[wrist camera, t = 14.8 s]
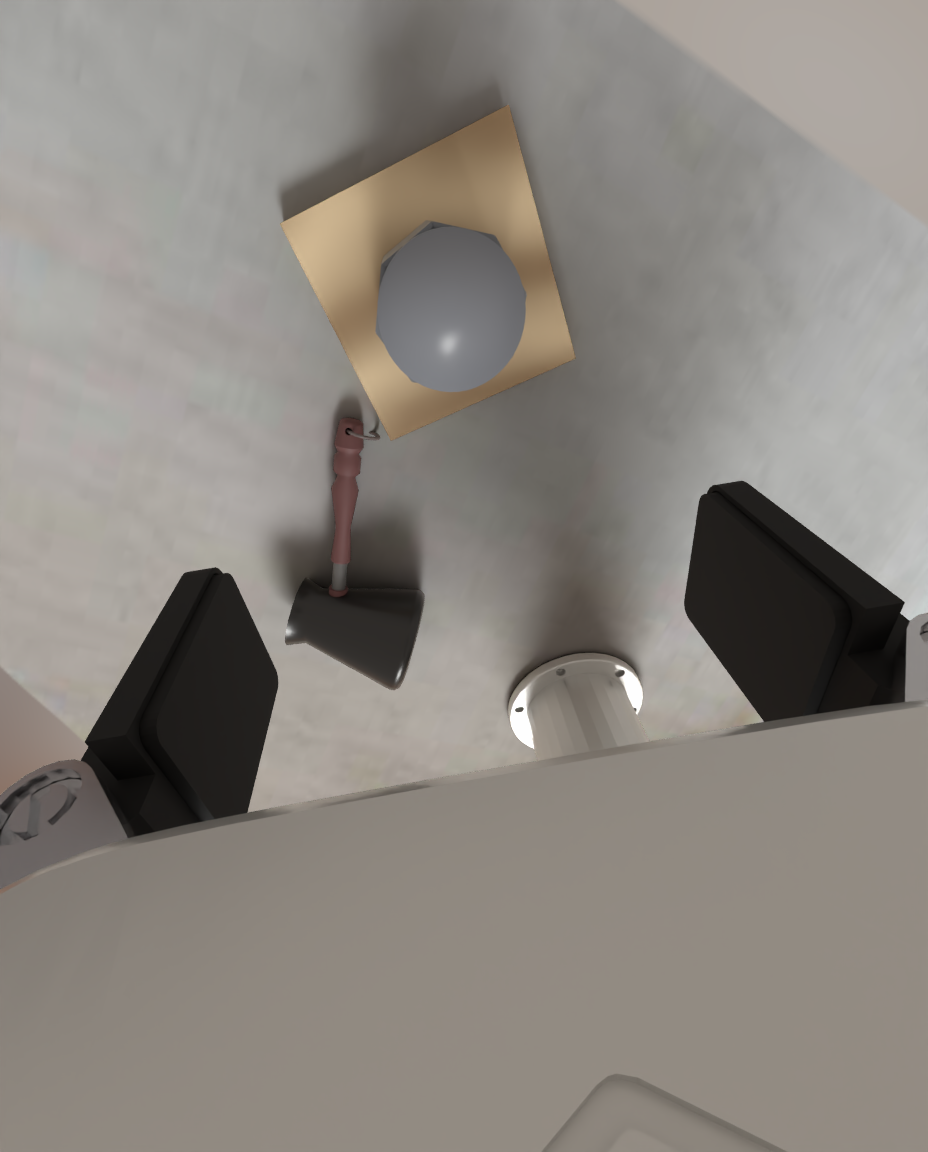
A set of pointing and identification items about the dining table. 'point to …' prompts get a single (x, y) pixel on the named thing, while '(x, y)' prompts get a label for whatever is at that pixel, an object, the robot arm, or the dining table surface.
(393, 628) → the coffee pot
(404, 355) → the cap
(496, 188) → the plate with round knob
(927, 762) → the robot arm
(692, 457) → the dining table surface
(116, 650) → the dining table surface
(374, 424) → the dining table surface
